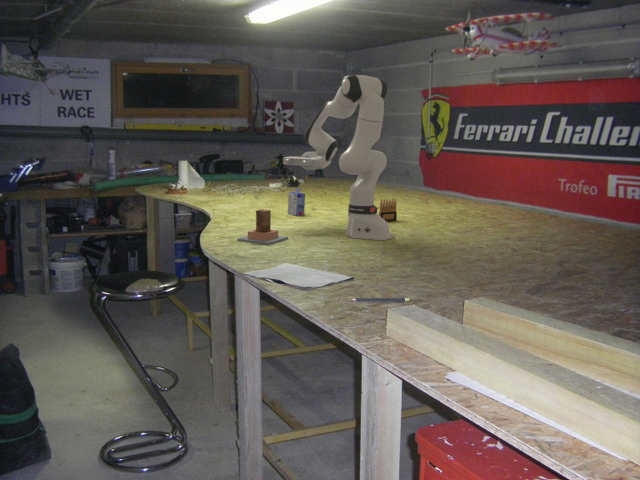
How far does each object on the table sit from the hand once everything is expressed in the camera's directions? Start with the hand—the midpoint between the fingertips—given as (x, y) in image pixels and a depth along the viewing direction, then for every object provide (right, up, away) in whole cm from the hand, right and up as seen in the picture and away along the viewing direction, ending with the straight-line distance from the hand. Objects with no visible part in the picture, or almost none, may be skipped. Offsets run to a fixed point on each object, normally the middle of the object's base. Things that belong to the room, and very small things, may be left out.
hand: (295, 162), depth 294 cm
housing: (-13, -36, -21) cm, 44 cm away
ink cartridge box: (-2, -23, +52) cm, 57 cm away
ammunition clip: (+47, -27, +38) cm, 66 cm away
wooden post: (-13, -35, -21) cm, 43 cm away
